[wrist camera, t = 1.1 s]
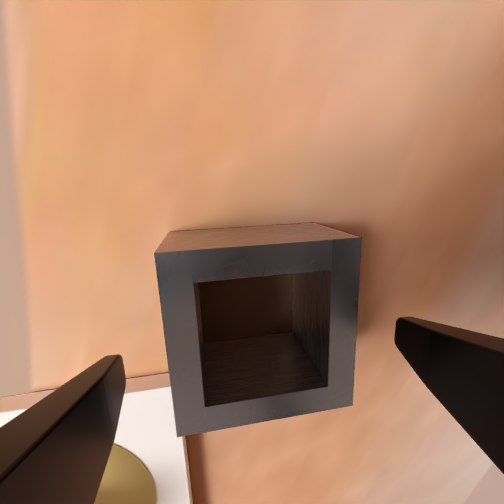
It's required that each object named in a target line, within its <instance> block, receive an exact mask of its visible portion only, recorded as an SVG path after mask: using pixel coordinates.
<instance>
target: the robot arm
mask: <svg viewBox="0 0 504 504" xmlns="http://www.w3.org/2000/svg"><path fill="white" fill-rule="evenodd" d="M395 344H396V346H397V348H398V349H399V351H400V352H401V353H402V355H403V356H404V357H405V359H406V360H407V362H408V363H409V364H410V366H411V367H412V368H413V370H414V371H415V372H416V374H417V375H418V376H419V378H420V379H421V380H422V382H423V383H424V384H425V385H426V387H427V388H428V389H429V390H430V391H431V392H432V394H433V395H434V396H435V397H436V398H437V399H438V400H439V401H440V403H441V404H442V405H443V406H444V407H445V408H446V409H447V411H448V412H449V413H450V414H451V415H452V416H453V417H454V418H455V420H456V421H457V422H458V423H459V424H460V425H461V426H462V428H463V429H464V430H465V431H466V432H467V433H468V434H469V435H470V437H471V438H472V439H473V440H474V441H475V442H476V443H477V445H478V446H479V447H480V448H481V449H482V450H483V451H484V452H485V454H486V455H487V456H488V457H489V458H490V459H491V460H492V462H493V463H494V464H495V465H496V466H497V467H498V468H499V469H500V471H501V472H502V473H503V474H504V339H503V338H499V337H494V336H490V335H486V334H482V333H478V332H473V331H469V330H465V329H461V328H457V327H452V326H448V325H444V324H440V323H435V322H431V321H427V320H423V319H419V318H414V317H400V318H398V319H397V321H396V328H395ZM125 388H126V377H125V371H124V365H123V359H122V356H121V355H118V354H117V355H110V356H105V357H104V358H102V359H101V360H99V361H98V362H96V363H95V364H93V365H92V366H90V367H89V368H87V369H86V370H84V371H83V372H81V373H80V374H78V375H77V376H76V377H74V378H73V379H71V380H70V381H68V382H67V383H65V384H64V385H62V386H61V387H59V388H58V389H56V390H55V391H53V392H52V393H50V394H49V395H47V396H46V397H45V398H43V399H42V400H40V401H39V402H37V403H36V404H34V405H33V406H31V407H30V408H28V409H27V410H25V411H24V412H22V413H21V414H19V415H18V416H16V417H15V418H14V419H12V420H11V421H9V422H8V423H6V424H5V425H3V426H2V427H0V504H94V502H95V499H96V496H97V493H98V490H99V487H100V484H101V481H102V478H103V474H104V471H105V468H106V465H107V462H108V459H109V456H110V453H111V450H112V446H113V443H114V440H115V435H116V431H117V426H118V421H119V417H120V412H121V407H122V402H123V397H124V393H125Z"/></svg>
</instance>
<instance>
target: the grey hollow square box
mask: <svg viewBox="0 0 504 504" xmlns="http://www.w3.org/2000/svg"><path fill="white" fill-rule="evenodd" d="M361 238H362V237H359V236H356V235H352V234H349V233H346V232H343V231H339V230H336V229H333V228H330V227H326V226H323V225H320V224H317V223H313V222H312V223H297V224H281V225H265V226H250V227H234V228H218V229H203V230H187V231H171V232H169V233H168V234H167V236H166V237H165V238H164V240H163V241H162V243H161V244H160V246H159V247H158V248H157V250H156V251H155V253H154V255H155V263H156V271H157V279H158V287H159V295H160V303H161V312H162V320H163V328H164V336H165V344H166V352H167V360H168V368H169V377H170V385H171V393H172V401H173V409H174V417H175V425H176V433H177V437H182V436H188V435H193V434H198V433H204V432H209V431H215V430H220V429H226V428H231V427H237V426H242V425H248V424H253V423H259V422H264V421H270V420H275V419H281V418H286V417H292V416H297V415H303V414H308V413H314V412H319V411H325V410H330V409H336V408H341V407H347V406H352V405H353V387H354V369H355V350H356V331H357V312H358V294H359V275H360V256H361ZM282 274H293V332H287V333H279V334H271V335H264V336H256V337H248V338H241V339H233V340H225V341H217V342H210V343H203V332H202V321H201V310H200V298H199V287H198V282H208V281H218V280H229V279H240V278H250V277H261V276H271V275H282Z"/></svg>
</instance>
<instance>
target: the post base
mask: <svg viewBox="0 0 504 504" xmlns="http://www.w3.org/2000/svg"><path fill="white" fill-rule="evenodd" d="M55 390H56V389H54V390H47V391H40V392H33V393H26V394H19V395H12V396H6V397H0V427H2V426H3V425H5V424H6V423H8V422H9V421H11V420H12V419H14V418H15V417H16V416H18V415H19V414H21V413H22V412H24V411H25V410H27V409H28V408H30V407H31V406H33V405H34V404H36V403H37V402H39V401H40V400H42V399H43V398H45V397H46V396H47V395H49V394H50V393H52V392H53V391H55ZM94 504H193V499H192V490H191V481H190V473H189V464H188V455H187V446H186V438H185V436H182V437H177V433H176V425H175V417H174V409H173V401H172V393H171V385H170V377H169V373H164V374H157V375H150V376H144V377H137V378H130V379H126V388H125V393H124V397H123V402H122V407H121V412H120V417H119V421H118V426H117V431H116V435H115V440H114V443H113V446H112V450H111V453H110V456H109V459H108V462H107V465H106V468H105V471H104V474H103V478H102V481H101V484H100V487H99V490H98V493H97V496H96V499H95V502H94Z"/></svg>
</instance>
